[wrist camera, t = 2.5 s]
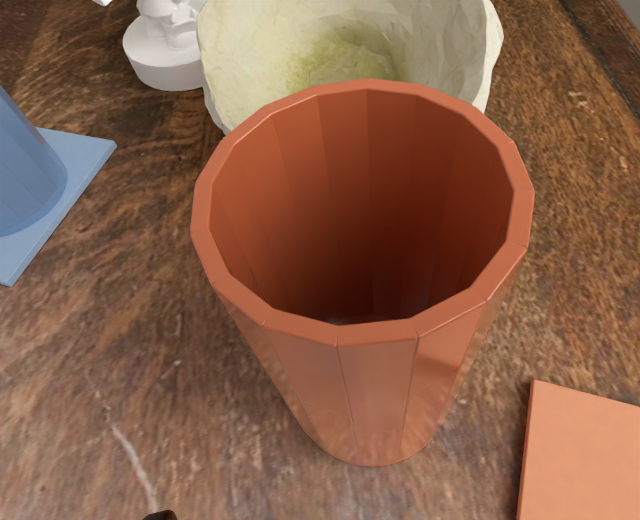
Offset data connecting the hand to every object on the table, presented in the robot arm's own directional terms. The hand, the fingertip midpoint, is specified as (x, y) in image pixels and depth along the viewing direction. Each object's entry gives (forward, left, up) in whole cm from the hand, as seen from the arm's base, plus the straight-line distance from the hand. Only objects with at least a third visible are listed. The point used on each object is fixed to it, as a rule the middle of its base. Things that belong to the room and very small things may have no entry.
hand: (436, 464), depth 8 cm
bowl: (+18, +8, -12) cm, 23 cm away
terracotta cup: (+4, +3, -11) cm, 13 cm away
